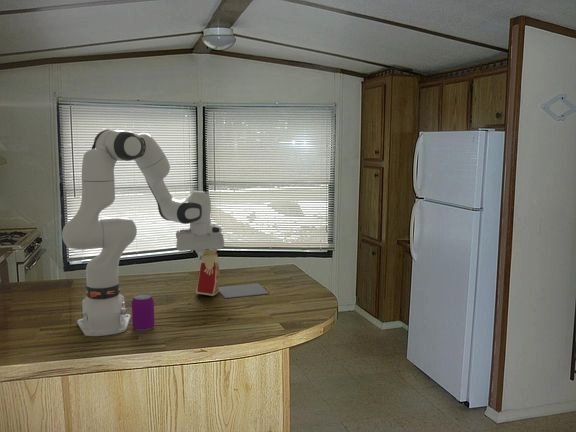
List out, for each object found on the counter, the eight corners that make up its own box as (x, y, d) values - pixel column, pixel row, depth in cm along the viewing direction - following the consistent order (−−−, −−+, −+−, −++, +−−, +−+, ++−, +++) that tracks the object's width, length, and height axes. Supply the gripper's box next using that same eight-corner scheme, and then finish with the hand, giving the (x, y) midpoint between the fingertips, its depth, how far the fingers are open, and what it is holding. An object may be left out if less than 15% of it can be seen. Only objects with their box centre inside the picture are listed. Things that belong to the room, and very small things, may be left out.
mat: (269, 294, 231) (269, 293, 231) (224, 298, 224) (224, 297, 224) (258, 284, 246) (258, 283, 246) (216, 288, 239) (216, 287, 239)
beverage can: (146, 322, 195) (145, 291, 193) (158, 327, 190) (158, 295, 188) (128, 328, 189) (127, 296, 187) (141, 333, 185) (139, 300, 183)
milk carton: (218, 292, 233) (223, 247, 232) (214, 296, 224) (219, 250, 223) (198, 289, 234) (203, 245, 233) (193, 293, 225) (198, 247, 223)
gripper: (177, 230, 217) (177, 263, 220) (225, 228, 225) (225, 259, 227) (174, 227, 223) (175, 259, 226) (221, 225, 230) (221, 255, 233)
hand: (200, 259), depth 227 cm, fingers closed, pressing on milk carton
